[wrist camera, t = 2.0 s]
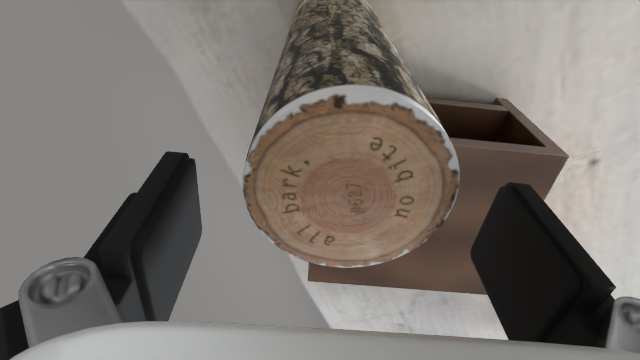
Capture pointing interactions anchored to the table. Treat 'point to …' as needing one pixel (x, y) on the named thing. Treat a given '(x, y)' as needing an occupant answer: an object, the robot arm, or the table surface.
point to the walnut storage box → (465, 197)
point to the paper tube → (347, 145)
